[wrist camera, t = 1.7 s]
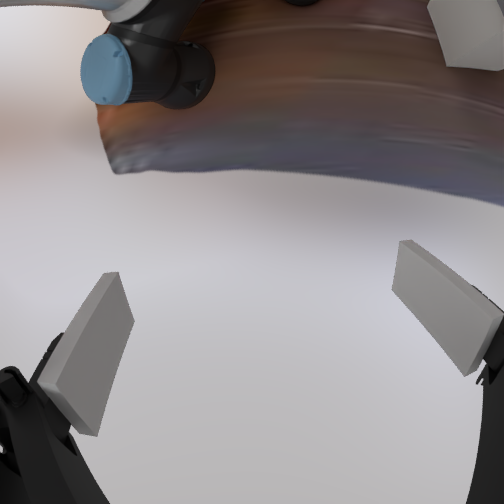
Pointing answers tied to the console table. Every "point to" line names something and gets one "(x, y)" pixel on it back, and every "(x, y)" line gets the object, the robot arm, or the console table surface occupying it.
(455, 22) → the grey-banded white block
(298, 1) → the cola bottle
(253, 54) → the console table surface
